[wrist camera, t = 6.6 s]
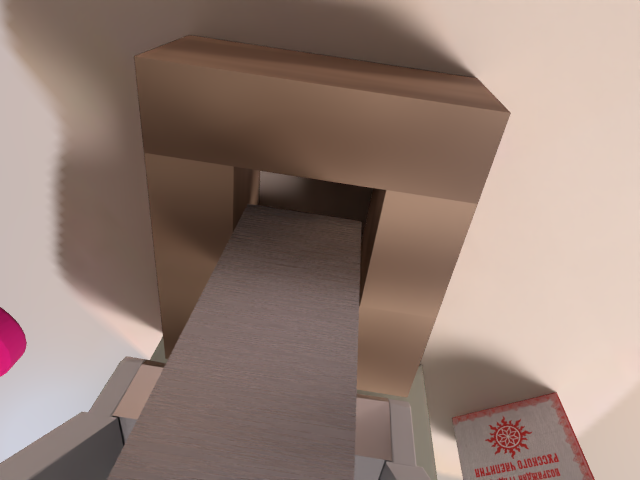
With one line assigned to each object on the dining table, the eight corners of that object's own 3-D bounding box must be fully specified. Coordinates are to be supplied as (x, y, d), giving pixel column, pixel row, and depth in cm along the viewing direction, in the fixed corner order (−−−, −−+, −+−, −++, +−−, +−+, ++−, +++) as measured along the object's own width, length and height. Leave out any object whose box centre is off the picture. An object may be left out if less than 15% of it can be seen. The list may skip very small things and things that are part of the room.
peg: (247, 203, 15) (0, 685, 5) (361, 221, 15) (346, 745, 5) (244, 292, 17) (68, 753, 7) (344, 307, 17) (308, 795, 7)
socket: (189, 35, 18) (134, 56, 14) (477, 78, 18) (510, 112, 14) (198, 293, 26) (165, 358, 21) (401, 325, 25) (407, 397, 21)
